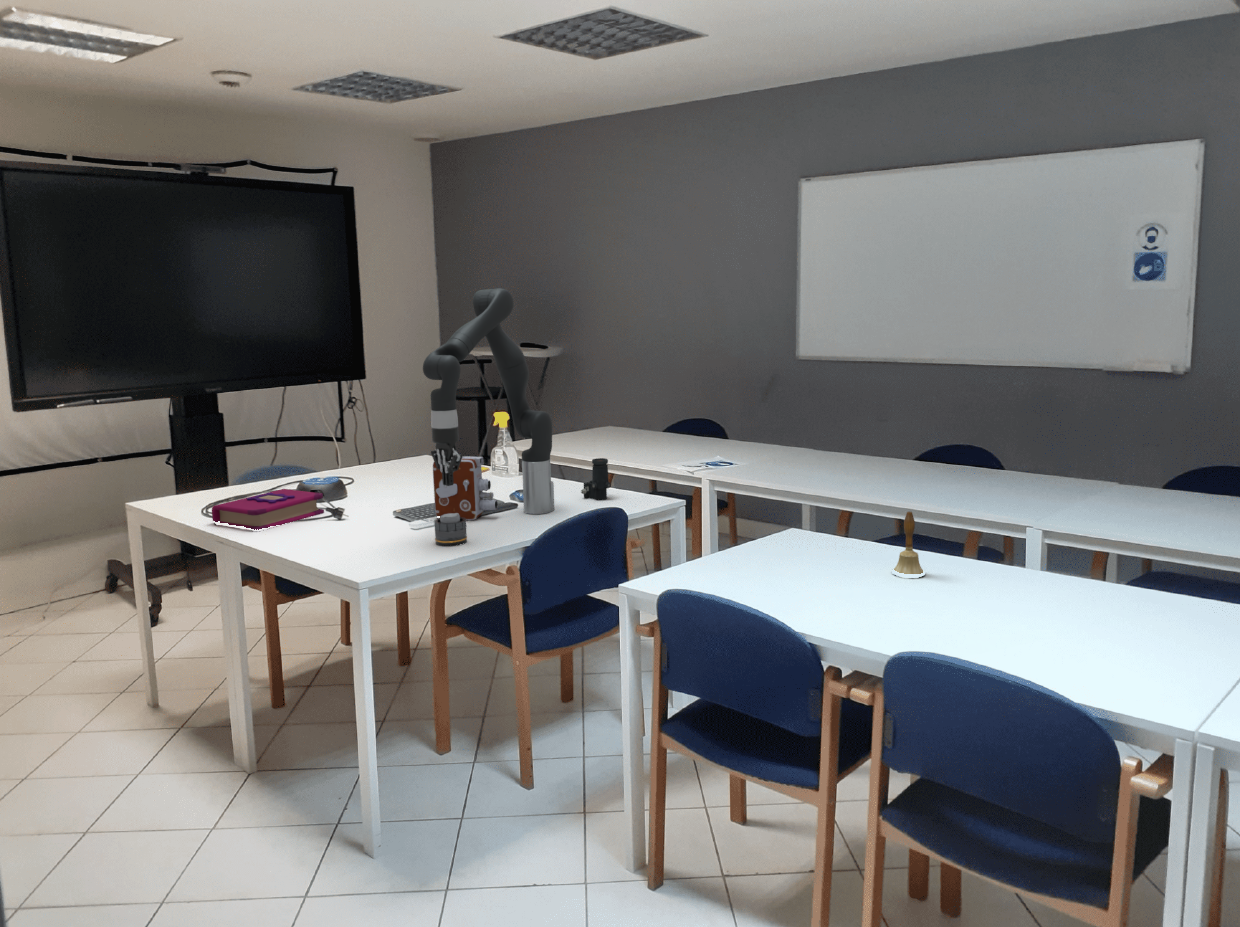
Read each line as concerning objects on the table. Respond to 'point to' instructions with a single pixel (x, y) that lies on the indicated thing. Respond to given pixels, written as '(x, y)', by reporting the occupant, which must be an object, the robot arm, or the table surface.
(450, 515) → the lens cap
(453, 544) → the lens barrel
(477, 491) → the cine camera
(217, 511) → the book
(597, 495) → the scope
